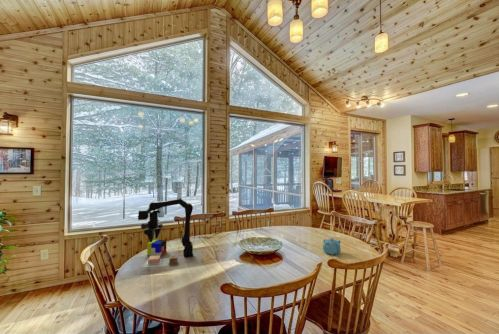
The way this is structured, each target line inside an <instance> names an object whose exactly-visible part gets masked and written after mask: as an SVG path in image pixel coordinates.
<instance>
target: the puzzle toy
mask: <svg viewBox="0 0 499 334" xmlns="http://www.w3.org/2000/svg"><path fill="white" fill-rule="evenodd" d="M146 248H147V249H146V255H147V256H157V255H160V256H162V255H163V254H165V253H167V240H166V239H158V238H154V239H153V240H152V242H150V241H149V242H147V245H146Z"/></svg>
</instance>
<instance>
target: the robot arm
mask: <svg viewBox="0 0 499 334" xmlns="http://www.w3.org/2000/svg"><path fill="white" fill-rule="evenodd" d="M175 205H180V206H181V207H182V208H184V213H185V219H184V229H183V230H184V232H183V235H182V234H181V240H180V242H181V244H182V246H183V252H182V253H183V258H187V257H188V258H190V257H192V258H193V256H194V245H193V242H192V241H191V238H190V229H191V226H190V225H191V216H192V213H193V209H194V207H193V205H192V203H190V202H187V201H185V200H183V199H182V198H176V199H170V200H169V199H168V200H164V201H151V202H150V203H149V206H148V208H147V209H145V210H142V209H141V210H140V209H139V210H138V213H137V220H138V221H147V220H148V221H147V222H146V223H141V224H140V229H142V230H143V234H144V235H146V236H147V237H148V240H149V242H152V241H153V240H154V237H155V239H158V238H159V237H160V236H159V235H160V233H161V231H162V229H163V227H164V225H163V224H162V223H159V221H160V220H159V219H158V218H159V214H160V213H161V210H160V209H162V208H165V207H169V206H175Z"/></svg>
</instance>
